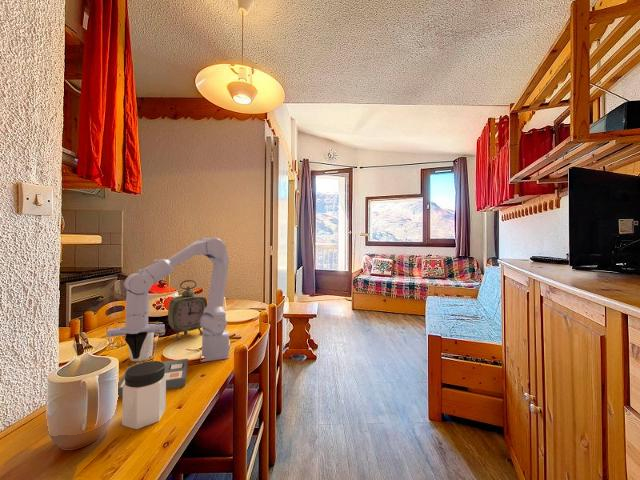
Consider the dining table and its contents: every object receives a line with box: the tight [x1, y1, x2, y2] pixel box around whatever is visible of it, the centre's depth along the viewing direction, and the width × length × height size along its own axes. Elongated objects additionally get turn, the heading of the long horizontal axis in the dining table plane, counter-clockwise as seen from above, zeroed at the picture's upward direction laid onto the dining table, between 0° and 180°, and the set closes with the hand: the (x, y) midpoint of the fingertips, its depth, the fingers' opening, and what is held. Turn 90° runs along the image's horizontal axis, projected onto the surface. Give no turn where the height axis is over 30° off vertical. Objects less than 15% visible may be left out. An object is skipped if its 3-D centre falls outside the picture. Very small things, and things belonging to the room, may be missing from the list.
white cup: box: [128, 332, 155, 362], centre depth 99 cm, size 8×8×10 cm
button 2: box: [170, 363, 183, 370], centre depth 87 cm, size 3×3×2 cm
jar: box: [121, 360, 167, 430], centre depth 66 cm, size 9×8×12 cm
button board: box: [118, 358, 189, 398], centre depth 83 cm, size 17×14×3 cm
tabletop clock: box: [167, 279, 208, 341], centre depth 122 cm, size 14×9×25 cm, turn 134°
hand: (136, 357), depth 83 cm, fingers closed
